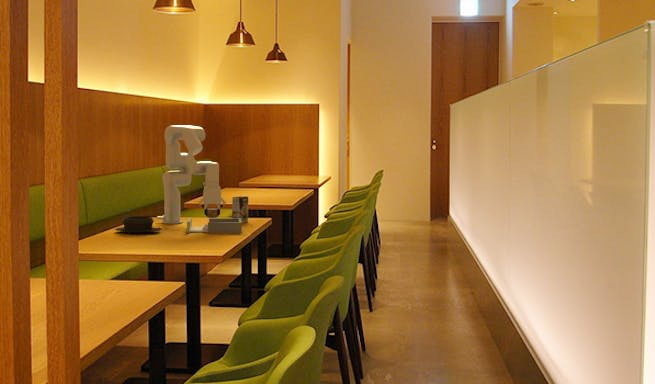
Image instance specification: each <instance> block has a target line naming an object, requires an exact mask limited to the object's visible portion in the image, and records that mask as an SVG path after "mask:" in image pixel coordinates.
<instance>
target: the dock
mask: <svg viewBox="0 0 655 384" xmlns="http://www.w3.org/2000/svg"><path fill="white" fill-rule="evenodd" d="M207 224H208V232H207V234H242V224H243V223H242V222H241V218H232V217H226V218H225V217H224V218H223V217H221V218H220V217H217V218H208V222H207Z"/></svg>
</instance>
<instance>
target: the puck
mask: <svg viewBox="0 0 655 384" xmlns="http://www.w3.org/2000/svg"><path fill="white" fill-rule="evenodd" d="M206 218H208V219H209V218H219V216H218V208H207V216H206Z"/></svg>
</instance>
